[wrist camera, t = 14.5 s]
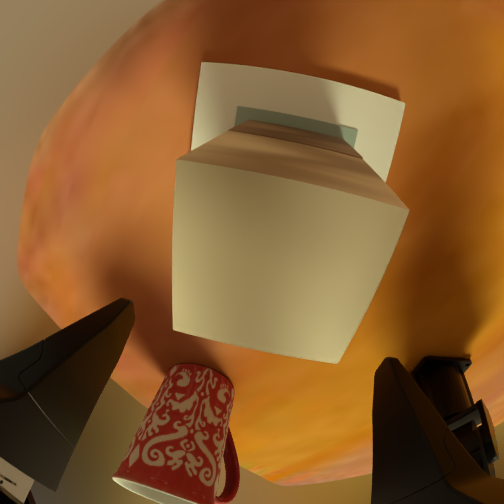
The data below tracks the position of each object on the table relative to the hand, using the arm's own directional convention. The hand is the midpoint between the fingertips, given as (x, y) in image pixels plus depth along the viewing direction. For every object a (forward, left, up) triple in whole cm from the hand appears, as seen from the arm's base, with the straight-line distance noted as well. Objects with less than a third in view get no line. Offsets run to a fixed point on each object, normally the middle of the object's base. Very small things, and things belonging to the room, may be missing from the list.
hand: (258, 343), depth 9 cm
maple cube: (0, -3, -4) cm, 5 cm away
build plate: (0, -3, -10) cm, 11 cm away
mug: (+3, +21, -10) cm, 23 cm away
